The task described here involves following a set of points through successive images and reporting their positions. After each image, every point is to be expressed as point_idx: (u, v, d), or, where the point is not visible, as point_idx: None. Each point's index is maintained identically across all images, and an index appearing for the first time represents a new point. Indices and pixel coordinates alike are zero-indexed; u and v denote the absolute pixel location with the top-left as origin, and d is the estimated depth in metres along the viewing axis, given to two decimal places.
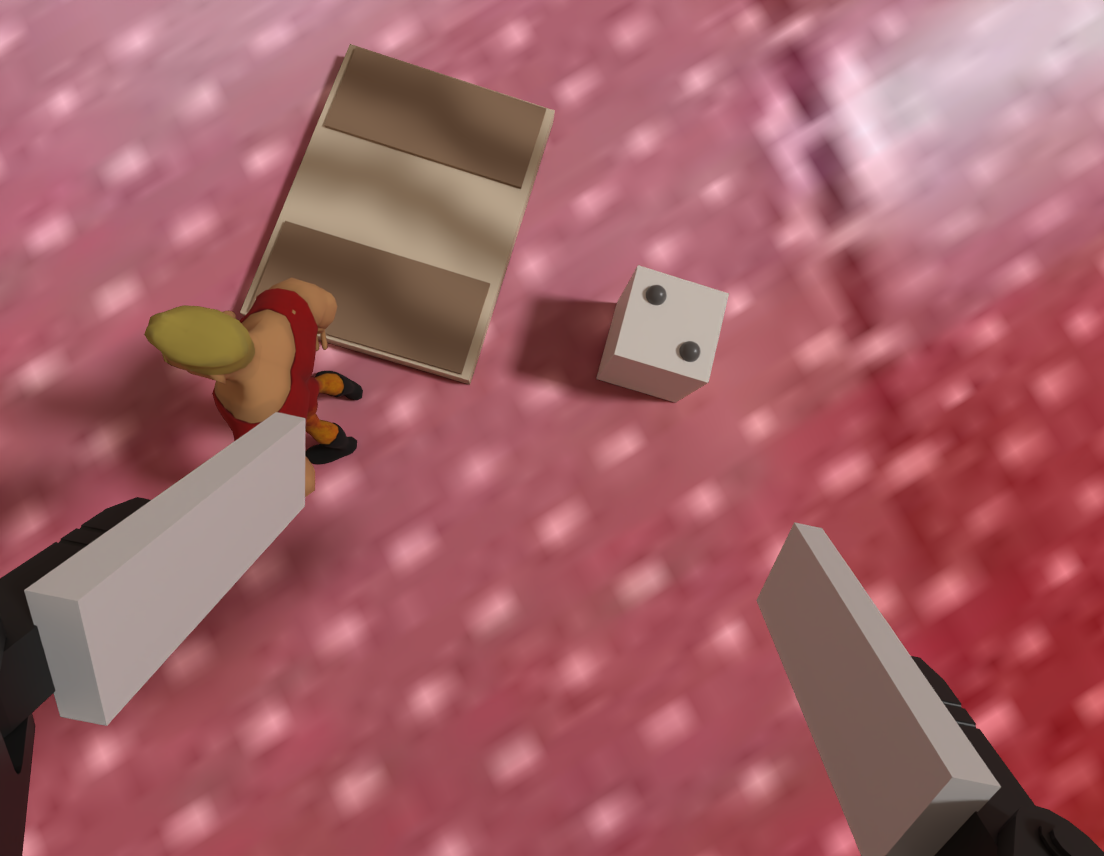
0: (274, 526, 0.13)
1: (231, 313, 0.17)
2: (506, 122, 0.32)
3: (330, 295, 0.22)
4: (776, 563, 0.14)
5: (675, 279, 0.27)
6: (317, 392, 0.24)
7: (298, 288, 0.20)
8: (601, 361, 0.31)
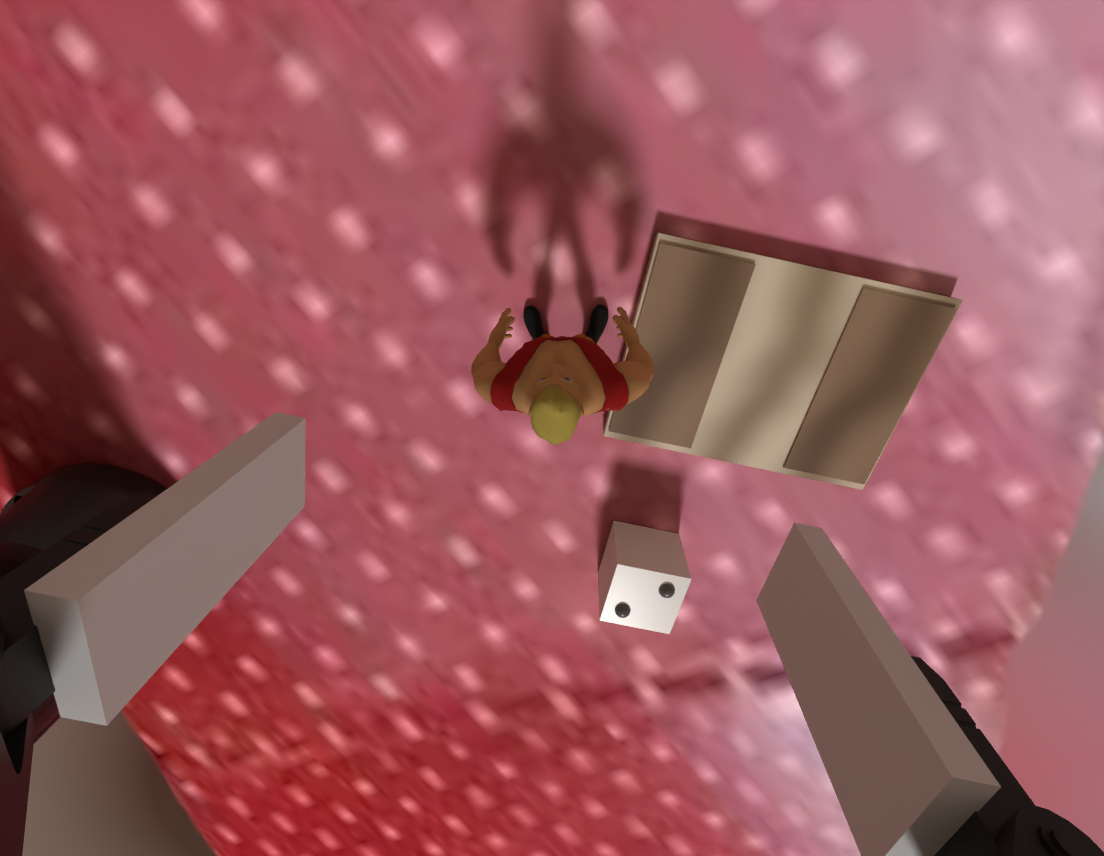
0: (274, 526, 0.13)
1: (582, 415, 0.21)
2: (852, 452, 0.34)
3: None
4: (775, 564, 0.14)
5: (680, 602, 0.35)
6: None
7: (633, 400, 0.24)
8: (627, 525, 0.39)
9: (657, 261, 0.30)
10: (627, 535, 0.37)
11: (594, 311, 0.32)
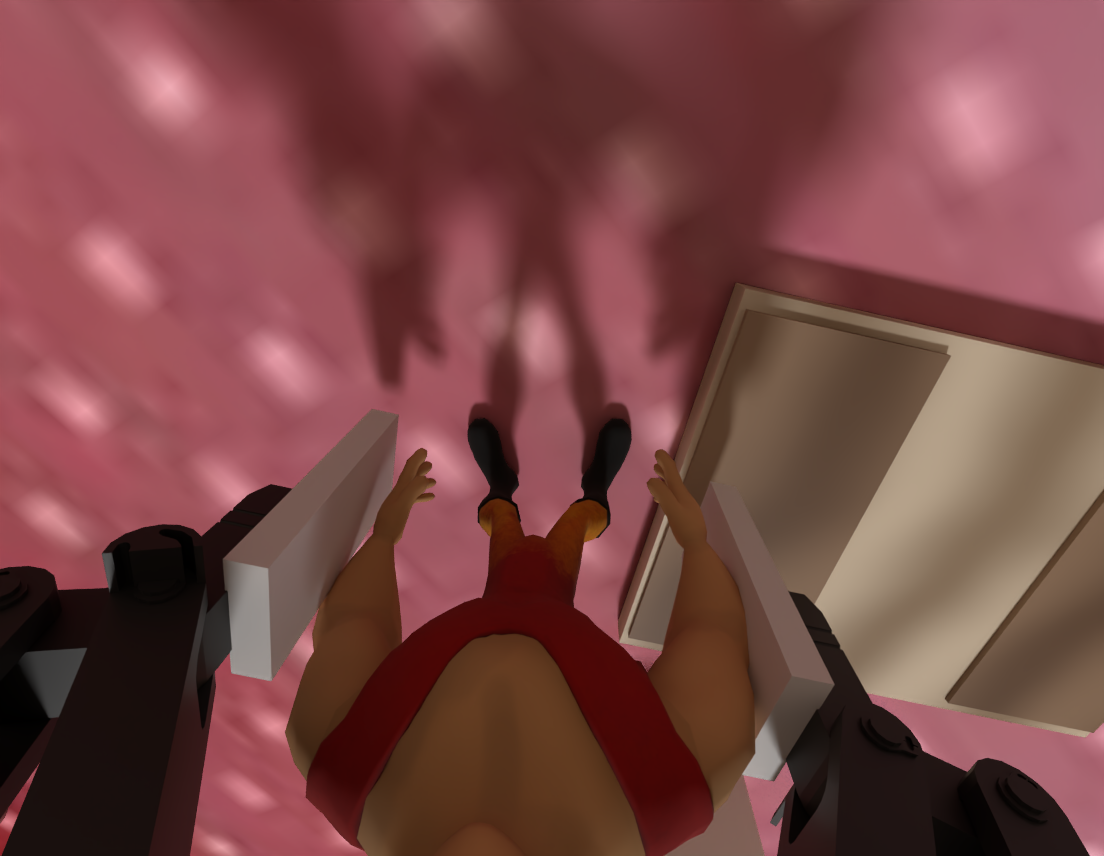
0: (373, 513, 0.14)
1: None
2: (1082, 685, 0.18)
3: None
4: None
5: None
6: None
7: (720, 803, 0.08)
8: None
9: (739, 346, 0.14)
10: None
11: (604, 432, 0.16)
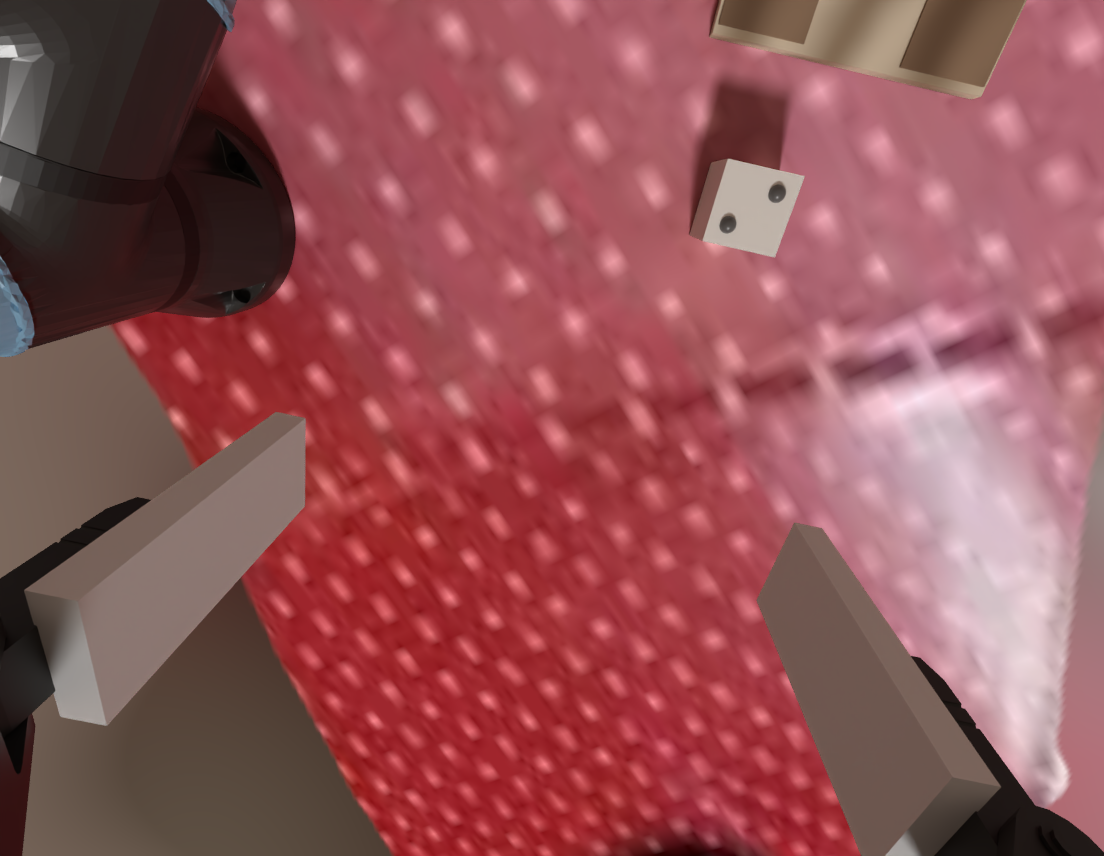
0: (274, 526, 0.13)
1: None
2: (975, 42, 0.33)
3: None
4: (776, 564, 0.14)
5: (789, 210, 0.34)
6: None
7: None
8: None
9: None
10: None
11: None
